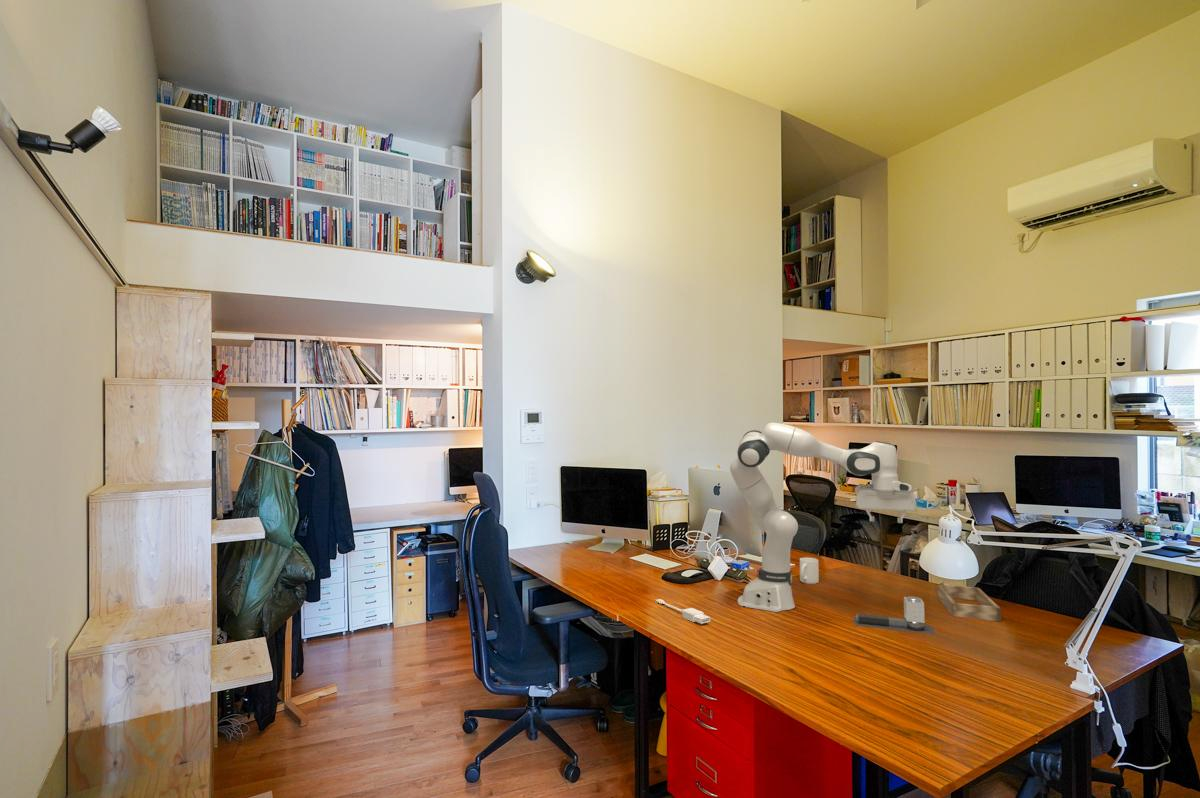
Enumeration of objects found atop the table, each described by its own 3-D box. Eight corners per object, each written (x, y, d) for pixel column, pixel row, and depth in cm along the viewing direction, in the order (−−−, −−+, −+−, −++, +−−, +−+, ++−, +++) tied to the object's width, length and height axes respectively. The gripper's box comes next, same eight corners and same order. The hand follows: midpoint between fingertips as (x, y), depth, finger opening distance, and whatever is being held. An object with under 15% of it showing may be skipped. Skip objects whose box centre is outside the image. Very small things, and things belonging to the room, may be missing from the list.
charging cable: (661, 603, 237) (660, 595, 238) (711, 623, 209) (710, 614, 209) (651, 605, 235) (650, 597, 235) (700, 626, 207) (700, 616, 207)
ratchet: (857, 624, 207) (857, 602, 208) (856, 619, 213) (855, 597, 213) (925, 631, 200) (925, 608, 200) (922, 626, 206) (921, 603, 206)
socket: (906, 621, 202) (906, 599, 203) (904, 616, 208) (903, 595, 208) (924, 623, 200) (924, 601, 201) (921, 618, 206) (921, 596, 206)
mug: (810, 586, 258) (809, 563, 258) (793, 583, 264) (792, 560, 264) (821, 581, 266) (821, 559, 267) (805, 578, 272) (804, 556, 272)
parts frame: (953, 616, 217) (953, 603, 217) (937, 596, 244) (936, 584, 244) (1001, 621, 212) (1000, 607, 212) (979, 599, 238) (978, 587, 238)
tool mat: (854, 626, 207) (854, 625, 207) (852, 618, 215) (852, 617, 215) (936, 635, 198) (936, 633, 198) (930, 626, 206) (930, 625, 206)
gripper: (855, 484, 213) (856, 521, 213) (916, 486, 206) (917, 525, 206) (854, 483, 219) (854, 519, 219) (913, 484, 212) (914, 522, 212)
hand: (885, 522), depth 212 cm, fingers open, 8 cm apart
